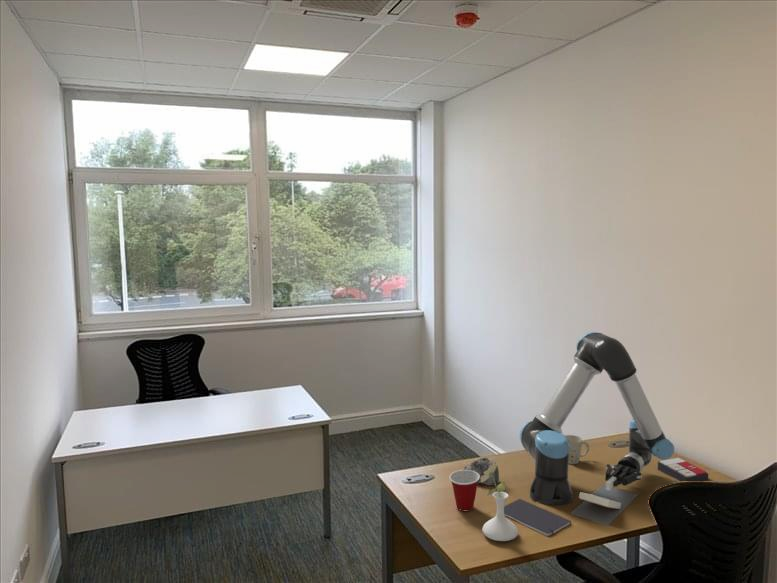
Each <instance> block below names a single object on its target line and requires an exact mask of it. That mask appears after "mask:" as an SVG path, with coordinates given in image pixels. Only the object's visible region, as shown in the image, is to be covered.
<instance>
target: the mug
mask: <svg viewBox="0 0 777 583" xmlns="http://www.w3.org/2000/svg"><path fill="white" fill-rule="evenodd" d="M564 436H565V437H566V438H567V439H568V443H569V460H568V465H569V464H570V465H577V464H579V463H580V458H583V457H585V456H586V455H587V454H588V453H589V451H590V444H589V442H588V441H586V440H583V438H581V437H580V436H578V435H574V434H567V435H566V434H565V435H564ZM583 445H585V446H586V450H585V451H584V453H583V454H581V451H582V446H583Z"/></svg>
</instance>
